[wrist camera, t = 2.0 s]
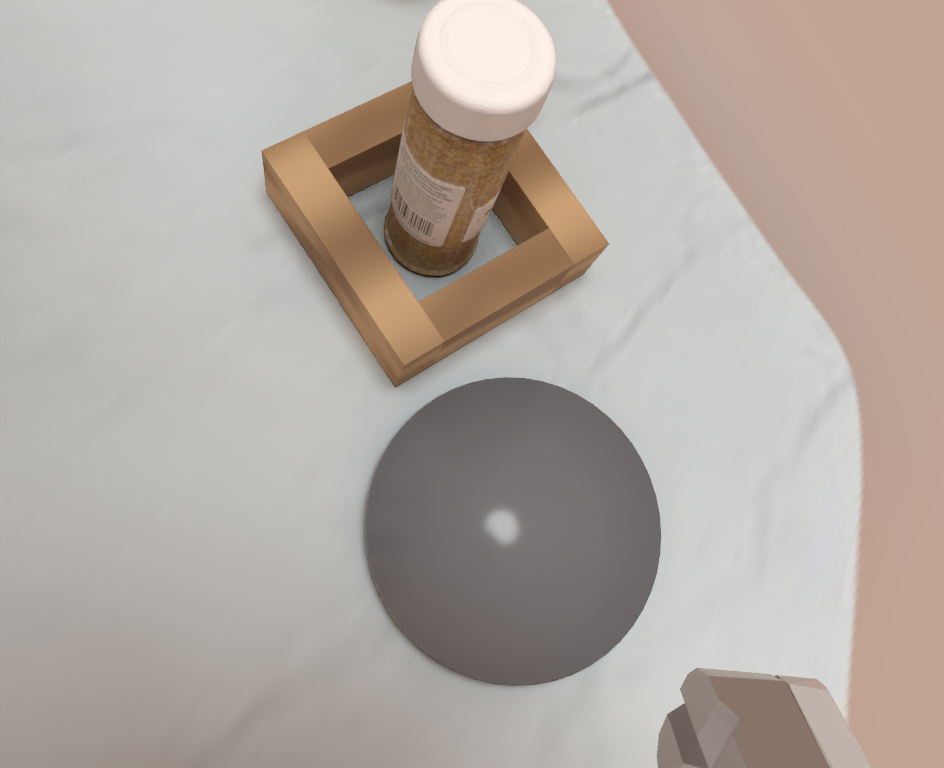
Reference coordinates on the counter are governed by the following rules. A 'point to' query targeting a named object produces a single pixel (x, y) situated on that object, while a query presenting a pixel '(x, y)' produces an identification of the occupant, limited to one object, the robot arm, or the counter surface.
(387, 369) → the frame
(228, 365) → the counter surface
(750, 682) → the robot arm
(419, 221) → the sprinkles bottle
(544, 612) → the slate coaster
